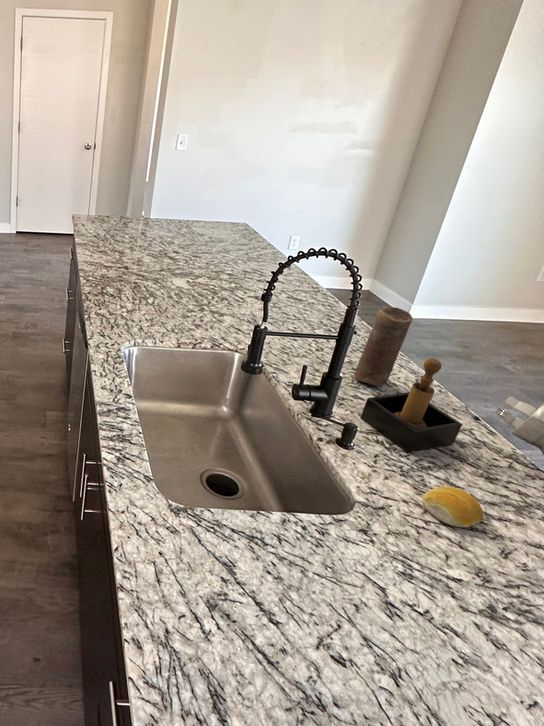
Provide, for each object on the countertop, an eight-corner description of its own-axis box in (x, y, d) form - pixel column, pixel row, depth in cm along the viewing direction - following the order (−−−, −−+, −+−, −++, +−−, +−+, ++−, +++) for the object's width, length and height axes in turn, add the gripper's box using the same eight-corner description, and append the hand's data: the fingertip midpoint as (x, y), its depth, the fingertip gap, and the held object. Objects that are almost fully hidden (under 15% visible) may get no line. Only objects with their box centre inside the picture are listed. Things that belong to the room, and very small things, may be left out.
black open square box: (403, 411, 128) (411, 391, 125) (452, 445, 117) (462, 424, 114) (360, 418, 124) (367, 397, 122) (406, 453, 114) (416, 432, 111)
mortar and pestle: (428, 440, 117) (460, 369, 109) (397, 436, 118) (426, 366, 110) (414, 422, 123) (443, 353, 115) (384, 418, 124) (410, 350, 116)
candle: (388, 381, 140) (415, 312, 131) (384, 393, 134) (411, 321, 126) (356, 370, 144) (380, 303, 135) (350, 381, 139) (374, 311, 130)
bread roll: (488, 520, 97) (497, 503, 96) (458, 535, 94) (466, 518, 92) (441, 489, 104) (449, 473, 102) (411, 502, 101) (419, 485, 99)
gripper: (581, 454, 101) (501, 404, 109) (549, 468, 117) (482, 424, 125) (606, 430, 100) (524, 382, 108) (571, 447, 117) (502, 404, 125)
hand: (501, 404), depth 117 cm, fingers open, 8 cm apart
